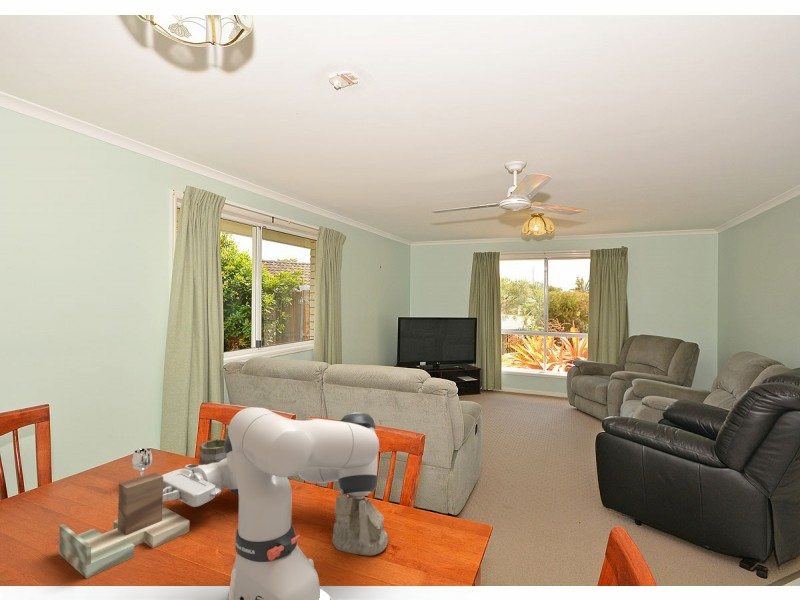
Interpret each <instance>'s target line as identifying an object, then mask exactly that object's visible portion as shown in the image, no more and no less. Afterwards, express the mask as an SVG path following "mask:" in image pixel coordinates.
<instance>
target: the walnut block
mask: <svg viewBox="0 0 800 600" xmlns="http://www.w3.org/2000/svg"><path fill="white" fill-rule="evenodd" d="M163 503H164V502H163V476H162V475H161V474H159V473H156V472H152V473H149V474H145V475H143V476H142V477H141V476H139V477H137V478H133V479H130V480H126V481H123V482H121V483H118V505H117V509H118V510H117V512H118V513H117V520H118V530H119V531H120V532H122V533H123V534H125V535H128V534H131V533H133V532H136V531H138V530H141V529H143V528H146V527H148V526H150V525H153V524H155V523H158V522H160V521H162V506H164V505H163Z"/></svg>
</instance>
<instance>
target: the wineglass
mask: <svg viewBox="0 0 800 600" xmlns="http://www.w3.org/2000/svg"><path fill="white" fill-rule="evenodd" d="M131 461H132V462H131V465H132V468H133V469H134V470H136V471H140V473H139V475H140V477H142V476H144V474H145V473H144V470H146V469H148V468H150V467H151V465H152V462H153V454H152V451H151V448H148V447H146V448H145V447H144V448H139V449H135V450H134V452H133V455H132V459H131Z"/></svg>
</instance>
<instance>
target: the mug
mask: <svg viewBox="0 0 800 600" xmlns="http://www.w3.org/2000/svg"><path fill="white" fill-rule="evenodd" d="M226 439H227V438H226ZM226 439H225V438H224V439H222V438H216V439H212V440H206V441H204V442H202V443H201V444H200V445H199V446H198V448H199V460H198V465H207V464H210V463H217V462H220V461H221V460H223V459H225V458H227V456H226V453H225V448H224V442H225V440H226Z"/></svg>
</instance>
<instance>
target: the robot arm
mask: <svg viewBox="0 0 800 600" xmlns="http://www.w3.org/2000/svg"><path fill="white" fill-rule="evenodd" d="M227 431H228V432H227V434H228V435H227V437H226V440H225V442H224V448H225V453H226V456H227V458H225V459H223V460H221V461H220V462H217V463H210V464H207V465H199V464H191V463H190V464H186V465H185V466H184V468H179V469H175V470H172V471H170V472H166V473H164V474H162V475H161V476H163V503H164V502H166V501H175V500H179V501H181V502H182V503H184V504H186V505H188V506H190V507H193V508H195V507H196V508H197V507H200V506H202V505H204V504H206V503H209V502H210V501H212V500H213V499H215V498H216V496H217V495H220V494H221V493H222V491H223V489H227V490H228V491H229V492H230V493H233V494H235V495H237V496H238V515H237V516H238V523H237V524H238V526H237V527H238V528H237V529H236V531H235V539H234V544H235V548H234V549H235V553H236V556H235V560H234V563H233V567H232V569H231V575H230V583H229V591H228V596H229V599H228V598H227V600H319V598H320V589H323V588H322V586H320V579H319V575H318V572H317V570H316V568H315V563H314V560H313V559H312V558H308V557H307V556H306V555H305V554H304V553H303V551H302V550H301V548H300V546H299V545H298V542H299V541H300V540H301V538H300V536H301V535H300V534H297V535H296V531H295V527H294V524H293V522H292V508H293V507H292V505H293V503H292V502H293V500H292V497H293V490H292V486H291V485H292V484H291V483H290V481H289V478H290V477H293V476H295V475H298V476H299V477H300V478H301V479H302V480H304V481H305V482H307V483H309V484H310V483H311V484H325V483H332V482H338V485H339V488H340V489H342V490H343V493H345V494H346V495H347V496H348V497H349V496H351V497H363V496H364V497H365V496H368V495H369V494H370V493H371V494H372V493H373V492H374V491H375V490H376V488H377V487H378V480H379V476H378V475H377V474H378V453H379V451H380V440H379V437H378V436H377V433H376V423H375V421H374V418H373V417H372V416H371V415H370V414H368V413H364V412H352V413H349V414H346V415H344V416H343V417H342V418H340V420H331V419H323V418H313V419H311V420H309V419H307V420H298V419H297V420H296V419H292V418H288V417H286V416H285V417H284V416H282V415H280V414H278V413H275V412H273V411H272V410H269V409H267V408H265V407H256V406H255V407H246V408H243V409H242V410H238V412H236V414H235V415H233V417H232V418H231V420H230V422H229V424H228V428H227Z"/></svg>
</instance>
